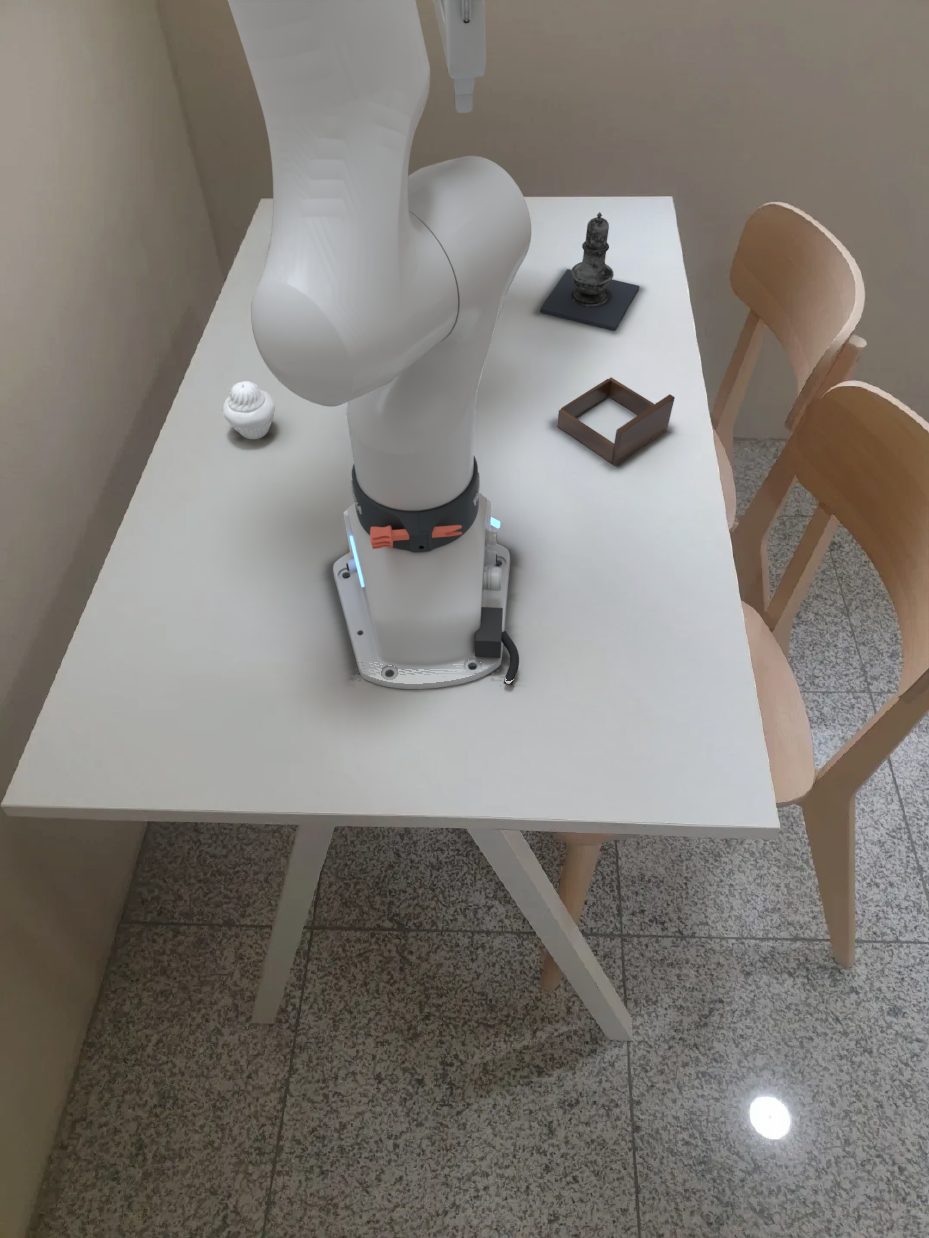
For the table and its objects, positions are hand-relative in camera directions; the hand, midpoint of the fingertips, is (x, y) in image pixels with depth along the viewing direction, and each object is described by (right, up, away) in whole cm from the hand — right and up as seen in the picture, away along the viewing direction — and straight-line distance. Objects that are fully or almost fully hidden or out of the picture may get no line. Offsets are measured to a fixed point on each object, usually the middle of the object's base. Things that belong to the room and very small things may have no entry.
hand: (459, 90), depth 90 cm
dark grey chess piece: (+18, -11, +29) cm, 36 cm away
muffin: (-25, -34, +14) cm, 44 cm away
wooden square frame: (+18, -33, +13) cm, 40 cm away
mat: (+18, -11, +29) cm, 36 cm away
